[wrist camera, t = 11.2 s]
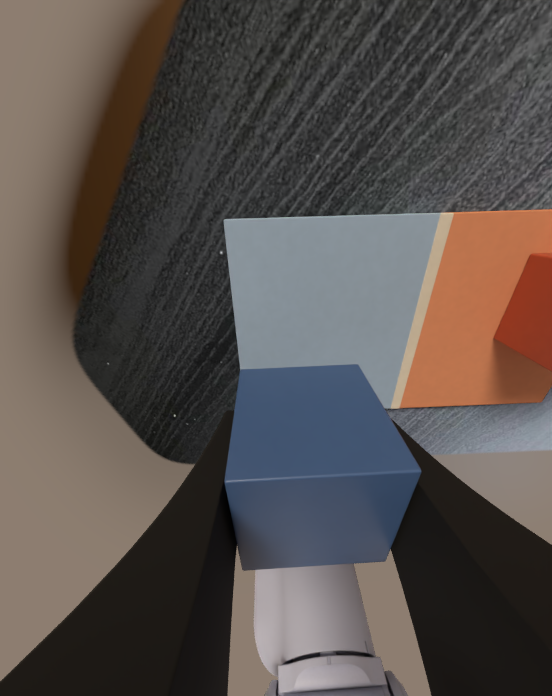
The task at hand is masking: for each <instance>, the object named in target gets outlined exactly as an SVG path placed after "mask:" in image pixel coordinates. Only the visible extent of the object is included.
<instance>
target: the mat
mask: <svg viewBox="0 0 552 696" xmlns="http://www.w3.org/2000/svg"><path fill="white" fill-rule="evenodd" d="M224 229H225V238H226V247H227V256H228V265H229V273H230V282H231V291H232V300H233V309H234V318H235V327H236V335H237V344H238V353H239V362H240V370H241V369H260V368H282V367H305V366H327V365H349V364H358V365H359V366H360V368H361V370H362V372H363V373H364V375H365V377H366V378H367V380H368V382H369V383H370V385H371V387H372V388H373V390H374V392H375V393H376V395H377V397H378V398H379V400H380V402H381V403H382V405H383V407H384V408H385V409H399V408H415V407H440V406H464V405H489V404H513V403H537V402H542V401H543V399H544V397H545V396H546V394H547V393H548V391H549V389H550V388H551V386H552V372H551V371H549V370H548V369H546V368H544V367H542V366H541V365H539V364H537V363H536V362H534V361H532V360H530V359H529V358H527V357H525V356H523V355H522V354H520V353H518V352H517V351H515V350H513V349H511V348H510V347H508V346H506V345H505V344H503V343H501V342H499V341H498V340H496V339H494V336H495V334H496V331H497V329H498V327H499V325H500V322H501V320H502V318H503V315H504V313H505V311H506V309H507V306H508V304H509V302H510V300H511V297H512V295H513V293H514V290H515V288H516V286H517V284H518V281H519V279H520V277H521V275H522V272H523V270H524V268H525V266H526V263H527V261H528V259H529V256H530V255H531V254H533V253H552V209H548V210H514V211H481V212H447V213H414V214H380V215H347V216H313V217H280V218H246V219H225V220H224Z"/></svg>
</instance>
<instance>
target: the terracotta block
mask: <svg viewBox="0 0 552 696" xmlns="http://www.w3.org/2000/svg"><path fill="white" fill-rule="evenodd" d="M494 339H496V340H498V341H499V342H501V343H503V344H505V345H506V346H508V347H510V348H511V349H513V350H515V351H517V352H518V353H520V354H522V355H523V356H525V357H527V358H529V359H530V360H532V361H534V362H536V363H537V364H539V365H541V366H542V367H544V368H546V369H548V370H549V371H551V372H552V253H533V254H531V255H530V256H529V259H528V261H527V263H526V266H525V268H524V270H523V272H522V275H521V277H520V279H519V281H518V284H517V286H516V288H515V290H514V293H513V295H512V297H511V300H510V302H509V304H508V306H507V309H506V311H505V313H504V315H503V318H502V320H501V322H500V325H499V327H498V329H497V331H496V334H495V336H494Z"/></svg>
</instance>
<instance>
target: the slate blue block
mask: <svg viewBox="0 0 552 696" xmlns="http://www.w3.org/2000/svg"><path fill="white" fill-rule="evenodd" d="M420 475H421V468H420V467H419V465H418V463H417V462H416V460H415V458H414V457H413V455H412V453H411V452H410V450H409V448H408V447H407V445H406V443H405V442H404V440H403V438H402V437H401V435H400V433H399V432H398V430H397V428H396V427H395V425H394V423H393V422H392V420H391V418H390V417H389V415H388V413H387V412H386V410H385V408H384V407H383V405H382V403H381V402H380V400H379V398H378V397H377V395H376V393H375V392H374V390H373V388H372V387H371V385H370V383H369V382H368V380H367V378H366V377H365V375H364V373H363V372H362V370H361V368H360V366H359V365H358V364H349V365H327V366H305V367H282V368H260V369H241V370H240V375H239V382H238V389H237V396H236V403H235V410H234V417H233V424H232V431H231V438H230V445H229V452H228V459H227V466H226V473H225V480H224V482H225V487H226V492H227V497H228V502H229V507H230V512H231V517H232V522H233V526H234V531H235V536H236V541H237V546H238V551H239V556H240V560H241V565H242V570H244V571H245V570H261V569H276V568H292V567H307V566H323V565H338V564H354V563H368V562H384V561H386V559H387V556H388V554H389V551H390V549H391V546H392V544H393V541H394V539H395V536H396V534H397V532H398V529H399V527H400V524H401V522H402V519H403V517H404V514H405V512H406V509H407V507H408V504H409V502H410V499H411V497H412V494H413V492H414V489H415V487H416V485H417V482H418V480H419V477H420Z"/></svg>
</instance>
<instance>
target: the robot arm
mask: <svg viewBox="0 0 552 696" xmlns="http://www.w3.org/2000/svg"><path fill="white" fill-rule="evenodd" d="M233 417H234V411H227V412H225V413H224V416H223V418H222V420H221V422H220V424H219V426H218V427H217V429H216V431H215V433H214V435H213V436H212V438H211V440H210V442H209V443H208V445H207V447H206V448H205V450H204V452H203V453H202V455H201V456H200V458H199V460H198V461H197V463H196V464H195V466H194V468H193V469H192V470H191V472H190V473H189V475H188V476H187V478H186V479H185V481H184V482H183V483H182V485H181V486H180V488H179V489H178V490H177V492H176V493H175V495H174V496H173V497H172V499H171V500H170V501H169V503H168V504H167V505H166V507H165V508H164V509H163V510H162V512H161V513H160V514H159V515H158V517H157V518H156V519H155V520H154V522H153V523H152V524H151V525H150V526H149V528H148V529H147V530H146V531H145V532H144V533H143V535H142V536H141V537H140V538H139V539H138V541H137V542H136V543H135V544H134V545H133V547H132V548H131V549H130V550H129V551H128V552H127V553H126V555H125V556H124V557H123V558H122V559H121V560H120V561H119V562H118V563H117V565H116V566H115V567H114V568H113V569H112V570H111V571H110V572H109V573H108V574H107V575H106V576H105V577H104V578H103V579H102V581H101V582H100V583H99V584H98V585H97V586H96V587H95V588H94V589H93V590H92V591H91V592H90V593H89V594H88V595H87V597H85V598H84V600H83V601H82V602H81V603H80V604H79V605H78V606H77V607H76V608H75V609H74V610H73V611H72V612H71V613H70V614H69V615H68V616H67V617H66V618H65V619H64V620H63V621H62V622H61V623H60V624H59V625H58V626H57V627H56V628H55V629H54V630H53V631H52V632H51V633H50V634H49V635H48V636H47V637H46V638H45V639H44V640H43V641H42V642H41V643H39V644H38V645H37V646H36V648H34V649H33V650H32V651H31V652H30V653H29V654H28V655H27V656H26V657H25V658H24V659H23V660H22V661H21V662H20V663H19V664H18V665H17V666H16V667H15V668H14V669H13V670H12V671H11V672H10V673H9V674H8V675H7V676H6V677H5V678H4V679H2V681H0V696H227V691H228V671H229V653H230V634H231V617H232V600H233V586H234V570H235V557H236V548H237V541H236V536H235V531H234V526H233V522H232V517H231V512H230V507H229V502H228V497H227V492H226V487H225V482H224V480H225V473H226V466H227V459H228V452H229V445H230V438H231V431H232V424H233ZM391 420H392V419H391ZM392 422H393V423H394V425H395V427H396V428H397V430H398V432H399V433H400V435H401V437H402V438H403V440H404V442H405V443H406V445H407V447H408V448H409V450H410V452H411V453H412V455H413V457H414V458H415V460H416V462H417V463H418V465H419V467H420V468H421V475H420V477H419V480H418V482H417V485H416V487H415V489H414V492H413V494H412V497H411V499H410V502H409V504H408V507H407V509H406V512H405V514H404V517H403V519H402V522H401V524H400V527H399V529H398V532H397V534H396V536H395V539H394V541H393V544H392V546H391V551H392V554H393V557H394V561H395V564H396V567H397V571H398V574H399V578H400V581H401V584H402V587H403V591H404V594H405V598H406V601H407V605H408V609H409V612H410V616H411V619H412V623H413V626H414V630H415V634H416V637H417V641H418V645H419V649H420V653H421V656H422V660H423V664H424V668H425V671H426V675H427V679H428V683H429V687H430V691H431V695H432V696H552V545H551V544H549V543H548V542H546V541H545V540H543V539H542V538H541V537H539V536H537V535H536V534H535V533H533V532H532V531H530V530H529V529H527V528H526V527H524V526H522V525H521V524H520V523H518V522H517V521H515V520H514V519H512V518H511V517H510V516H508V515H507V514H505V513H504V512H502V511H501V510H500V509H498V508H497V507H496V506H494V505H493V504H491V503H490V502H489V501H487V500H486V499H485V498H483V497H482V496H481V495H479V494H478V493H476V492H475V491H474V490H472V489H471V488H470V487H469V486H467V485H466V484H465V483H464V482H462V481H461V480H460V479H459V478H457V477H456V476H455V475H454V474H452V473H451V472H450V471H449V470H448V469H446V468H445V467H444V466H443V465H441V464H440V463H439V462H438V461H437V460H436V459H434V458H433V457H432V456H431V455H430V454H429V453H428V452H426V451H425V450H424V449H423V448H422V447H421V446H420V445H419V444H418V443H416V442H415V441H414V440H413V439H412V438H411V437H410V436H409V435H408V434H407V433H406V432H405V431H404V430H402V429H401V428H400V427H399V426H398V425H397V424H396V423H395V422H394V421H393V420H392ZM254 600H255V601H254V602H255V603H254V634H255V641H256V645H257V649H258V653H259V656H260V658H261V661H262V663H263V664H264V666H265V667H266V669H267V670H268V671H269V672H270V673H271V674H273V675H274V676H276V677H278V680H272V681H271V682H270V685H269V688H268V689H267V691H266V693H265V695H264V696H408V695H407V693H406V691H405V689H404V687H403V686H402V684H401V683H400V682H399V681H398V679H397V678H396V677H395V676H394V674H393V673H392V672H391V671H384V669H383V665H382V661H381V658H380V657H376V655H375V651H374V647H373V643H372V639H371V635H370V630H369V626H368V622H367V618H366V614H365V610H364V606H363V601H362V597H361V593H360V589H359V585H358V581H357V577H356V572H355V569H354V564H338V565H323V566H307V567H292V568H276V569H261V570H255V599H254Z"/></svg>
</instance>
